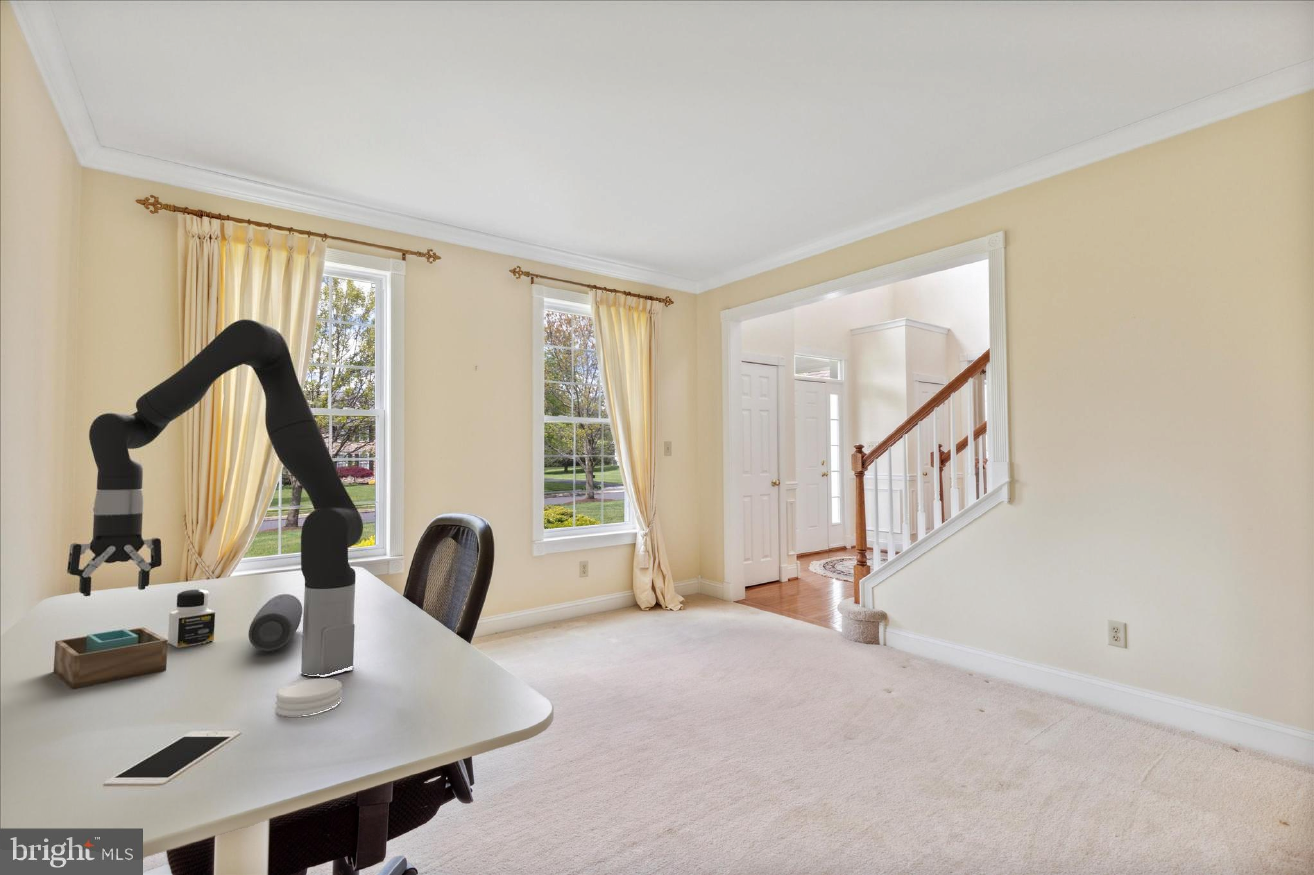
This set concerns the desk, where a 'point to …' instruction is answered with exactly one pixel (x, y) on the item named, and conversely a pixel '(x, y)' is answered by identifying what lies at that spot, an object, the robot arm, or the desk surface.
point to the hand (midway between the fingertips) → (115, 592)
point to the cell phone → (173, 758)
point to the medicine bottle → (191, 619)
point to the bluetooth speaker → (275, 622)
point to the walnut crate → (109, 660)
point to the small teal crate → (110, 640)
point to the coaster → (308, 697)
